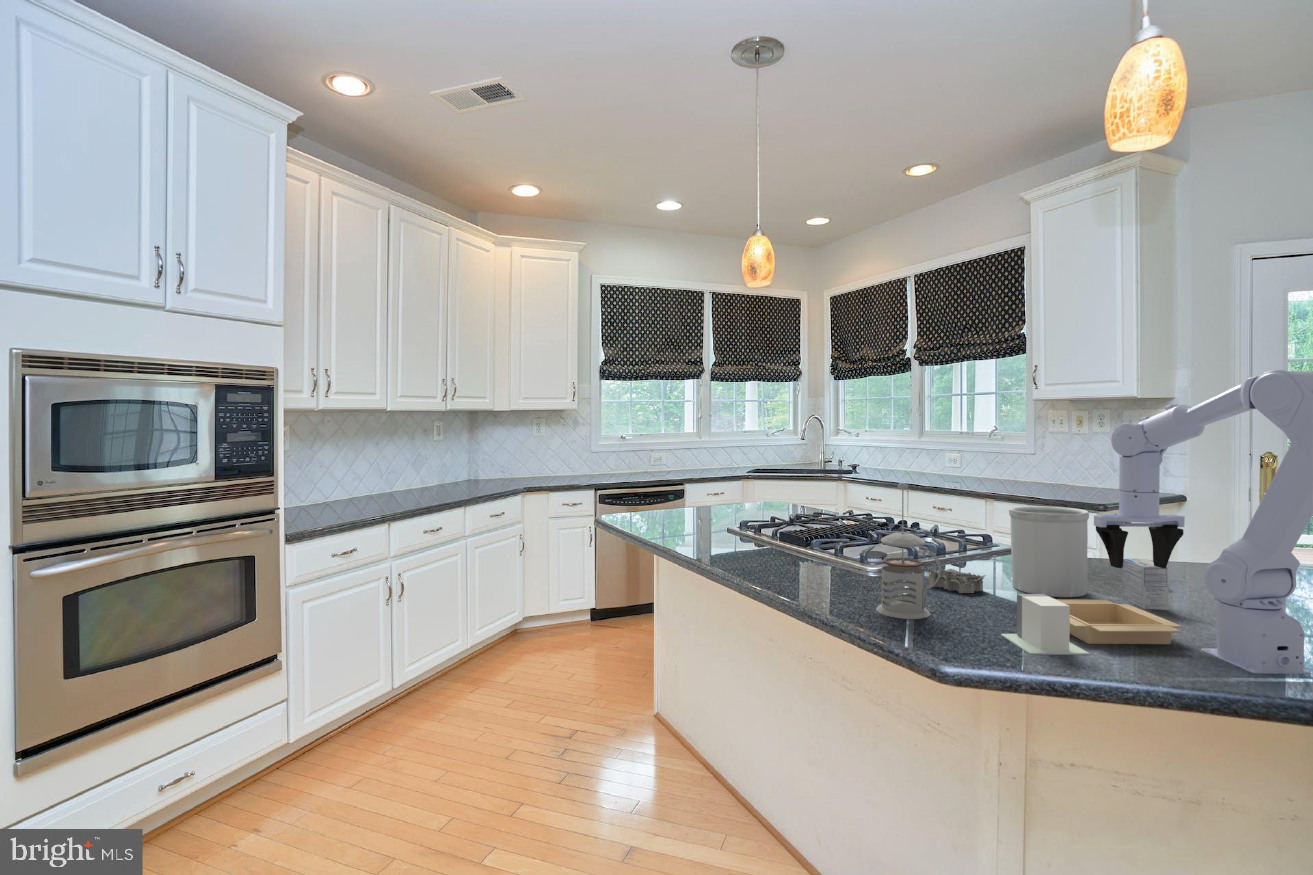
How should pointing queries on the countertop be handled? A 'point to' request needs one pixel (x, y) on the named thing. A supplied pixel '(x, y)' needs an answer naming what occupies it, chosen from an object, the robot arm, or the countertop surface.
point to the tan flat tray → (1117, 623)
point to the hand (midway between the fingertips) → (1138, 567)
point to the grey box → (1043, 621)
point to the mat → (1034, 650)
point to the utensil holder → (1049, 550)
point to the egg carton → (957, 581)
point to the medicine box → (1145, 584)
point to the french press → (904, 577)
